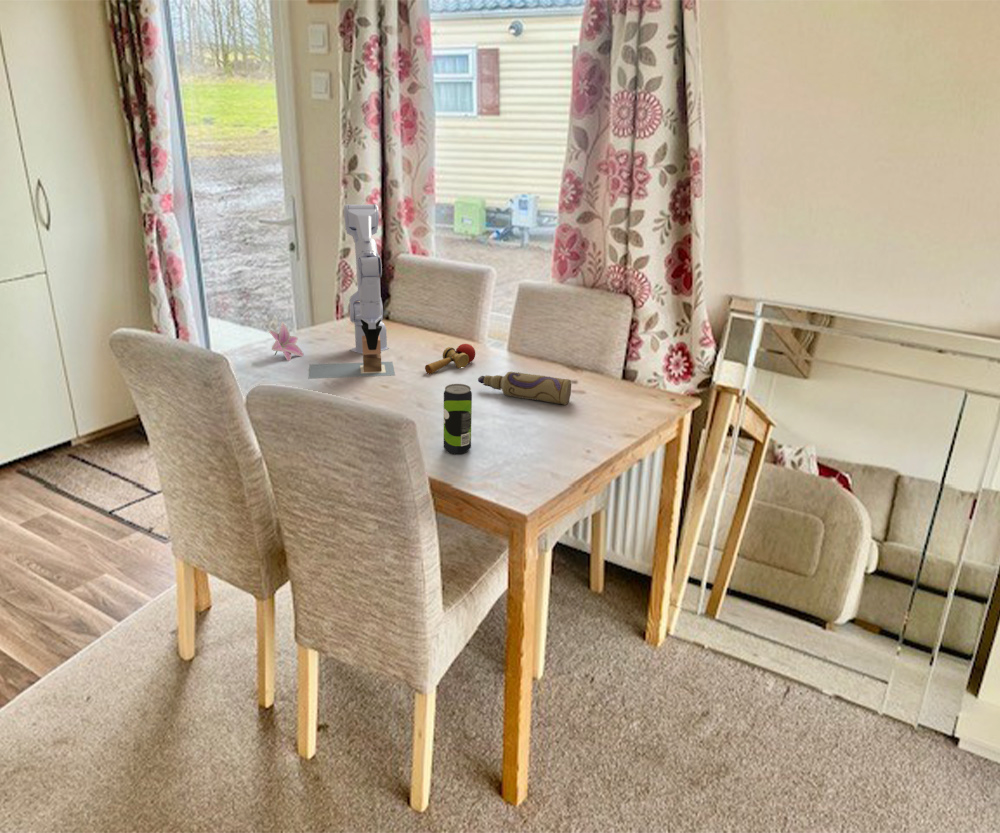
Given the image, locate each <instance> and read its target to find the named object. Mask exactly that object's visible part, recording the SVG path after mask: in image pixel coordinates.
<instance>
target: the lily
mask: <svg viewBox="0 0 1000 833" xmlns="http://www.w3.org/2000/svg"><path fill="white" fill-rule="evenodd" d="M268 332H269V333H270V335H271V336H272V338H273V339H274V340H275V342H274V343H273V345H272V346H271V350H272V351H275V353H274V356H276V355H277V353H278V352H282V353H283V355H284V357H285V358H286V361H287V362H289V361H291V359H292V355H296V356H298V357H303V356H305V354H304V352H303V351H302V349H301V348H300V347H299V346H298V345H297V342H298V341H299V337H298V336H295V335H291V334H290V331H289V328H288V327H287V325H286V323H285V322H283V321H282V322H281V324H280V328H279V332H277V331H274V330H270V329H268Z"/></svg>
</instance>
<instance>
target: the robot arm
mask: <svg viewBox="0 0 1000 833" xmlns="http://www.w3.org/2000/svg"><path fill="white" fill-rule="evenodd" d="M343 214H344V215H343V216H344V226H345V227H344V228H345V231H346V234H347V235H349V236H352V239H353V242H354V249H355V250H354V251H355V265H356V279H357V282H356V283H357V284H356V285H357V291H355V292H354V293H353V294H352V295H351V296H350V298H349V301H348V302H349V320H350V322H351V323H352V324H354V337H355V340H354V341H355V347H352V348H349V351H350V352H355V353H357V354H359V355H363V349H362V336H366V340H367V345H368V349H369V350H376V348H377V343H378V337H379V335H380V342H381V352H384V351H386V350H389V349H390V347H389V346H388V344H387V343H388V342H387V340H388V339H387V338H388V336H387V327H386V324H385V323H384V322H383V319H384V308H383V300H382V297H381V293H382V292H381V278H382V275H383V268H382V267H383V264H382V259H381V256H380V254H379V252H378V247H377V241H376V240H375V239H373V237H372V236H373V235H376V234H377V233H378V229H379V228H378V227H379V224H380V223H379V222H380V221H379V220H380V217H379V216H380V214H379V206H378V205H377V204H376V203H374V204H348V203H345V205H344V207H343Z"/></svg>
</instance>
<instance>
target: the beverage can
mask: <svg viewBox="0 0 1000 833" xmlns="http://www.w3.org/2000/svg"><path fill="white" fill-rule="evenodd" d="M471 390H472V388H471V386H469V385H468V384H463V383H452V384H448V385H446V386H445V387H444V391H443V448H444V450H445V451H446V452H447V453H448V454H451V455H463V454H466V453H468V452H469V451H470V449H471V448H472V410H473V409H472V407H473V405H472V404H473V392H472V391H471Z"/></svg>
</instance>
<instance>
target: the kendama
mask: <svg viewBox="0 0 1000 833" xmlns="http://www.w3.org/2000/svg"><path fill="white" fill-rule="evenodd" d="M475 358H476V350H475V348H474V346H473V345H471V344H469V343H462V344H460V345H459V346H457V348H456V349H455V348H454V347H451V346H447V347H446V348H445V349H444V351H443V352H442V359H439V360H436V361H433V362H431V363H428V364H426V365H425V366H424V370H425V373H427V374H428V373H429V374H428V375H432V374H434V373H435V372H437V371H439V370H440V369H443V368H444V367H446V366H448V365H449V364H450V363H452V362H453V363H454V366H455V367H456V368H457V369H459V368H461V367H465V366H466V367H467V365H468V364H470V363H472V362H473V361H474V360H475ZM466 367H465V368H466Z"/></svg>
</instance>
